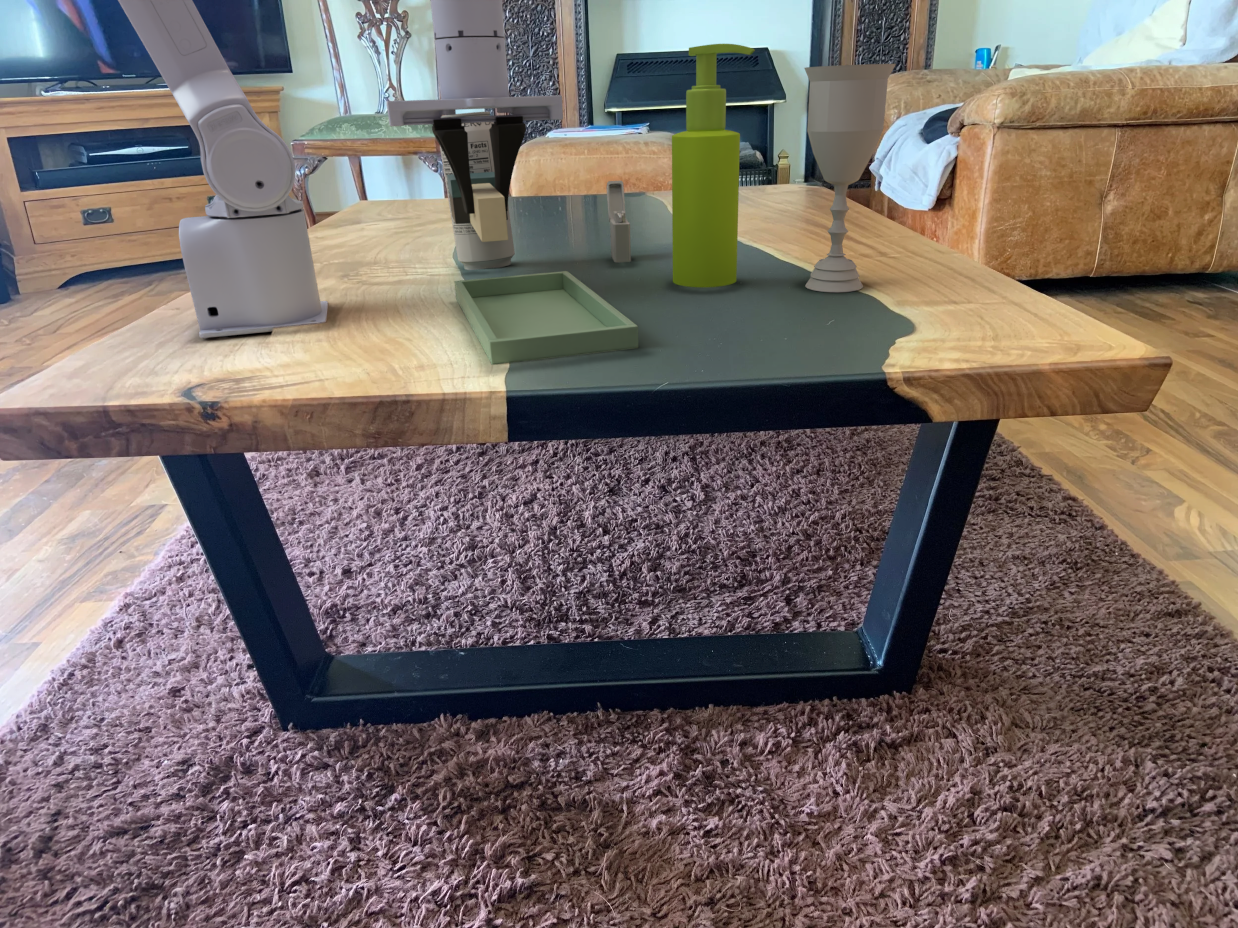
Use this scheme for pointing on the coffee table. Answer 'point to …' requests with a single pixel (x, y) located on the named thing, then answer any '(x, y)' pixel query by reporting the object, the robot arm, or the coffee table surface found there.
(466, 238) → the energy drink can
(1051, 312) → the coffee table surface
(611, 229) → the lighter
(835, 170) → the chalice
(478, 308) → the tray
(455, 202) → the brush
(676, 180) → the soap dispenser
